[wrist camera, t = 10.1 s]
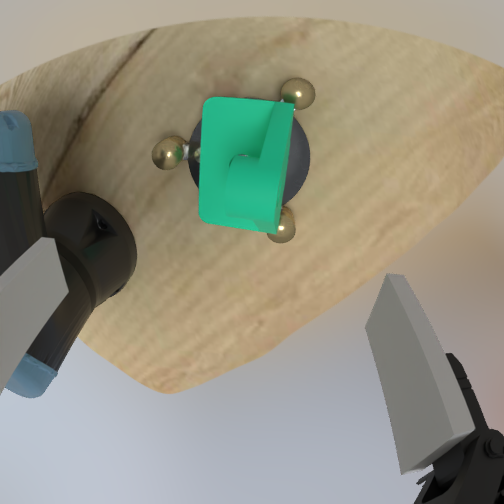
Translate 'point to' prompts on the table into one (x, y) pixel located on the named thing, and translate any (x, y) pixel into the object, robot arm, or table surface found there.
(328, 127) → the table surface
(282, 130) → the camera mount
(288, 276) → the table surface
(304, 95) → the plate
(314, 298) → the table surface
